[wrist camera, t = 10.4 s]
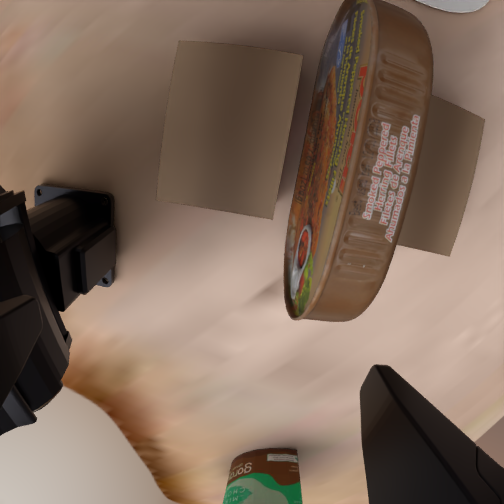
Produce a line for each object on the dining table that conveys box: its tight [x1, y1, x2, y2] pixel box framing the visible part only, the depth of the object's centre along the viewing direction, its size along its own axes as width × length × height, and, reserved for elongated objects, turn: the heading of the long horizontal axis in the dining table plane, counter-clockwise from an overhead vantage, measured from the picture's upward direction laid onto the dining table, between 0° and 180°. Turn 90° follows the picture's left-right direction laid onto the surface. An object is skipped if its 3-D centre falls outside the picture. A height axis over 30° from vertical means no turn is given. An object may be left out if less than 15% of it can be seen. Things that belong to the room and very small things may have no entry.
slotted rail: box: [156, 41, 485, 257], centre depth 15 cm, size 16×8×3 cm, turn 80°
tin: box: [284, 0, 433, 322], centre depth 13 cm, size 15×3×8 cm, turn 170°
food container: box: [223, 448, 302, 504], centre depth 24 cm, size 12×6×10 cm, turn 158°
